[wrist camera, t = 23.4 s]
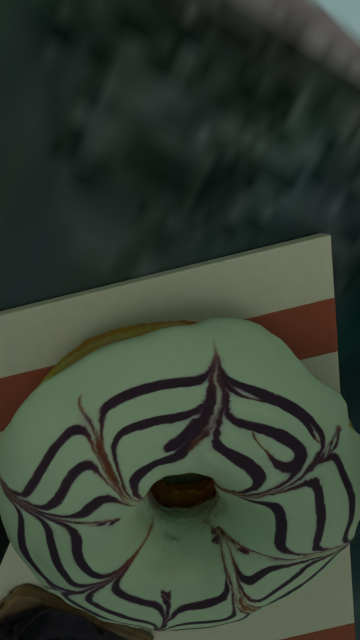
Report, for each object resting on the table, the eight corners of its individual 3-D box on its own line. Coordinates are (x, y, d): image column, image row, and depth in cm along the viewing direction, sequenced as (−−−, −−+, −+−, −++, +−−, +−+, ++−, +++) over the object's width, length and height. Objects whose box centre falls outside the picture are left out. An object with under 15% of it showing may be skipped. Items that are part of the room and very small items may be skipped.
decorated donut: (234, 233, 10) (283, 255, 6) (361, 466, 13) (437, 564, 10) (-40, 407, 11) (-130, 508, 7) (144, 576, 15) (141, 698, 11)
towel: (351, 650, 19) (357, 664, 18) (-34, 737, 19) (-40, 754, 19) (321, 232, 10) (332, 234, 10) (-371, 401, 11) (-402, 413, 10)
